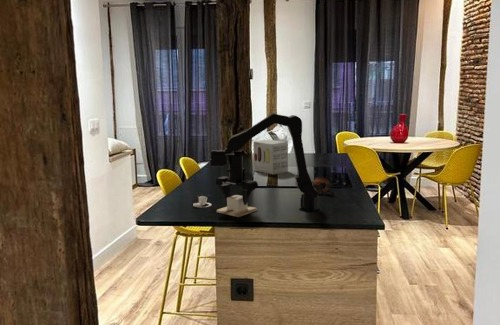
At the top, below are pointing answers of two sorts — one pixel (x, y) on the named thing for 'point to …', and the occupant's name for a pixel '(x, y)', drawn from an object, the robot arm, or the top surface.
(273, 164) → the supplement box
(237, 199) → the small white box
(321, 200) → the top surface
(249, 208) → the board
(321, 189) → the pottery mug
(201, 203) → the white ring with cylinder
